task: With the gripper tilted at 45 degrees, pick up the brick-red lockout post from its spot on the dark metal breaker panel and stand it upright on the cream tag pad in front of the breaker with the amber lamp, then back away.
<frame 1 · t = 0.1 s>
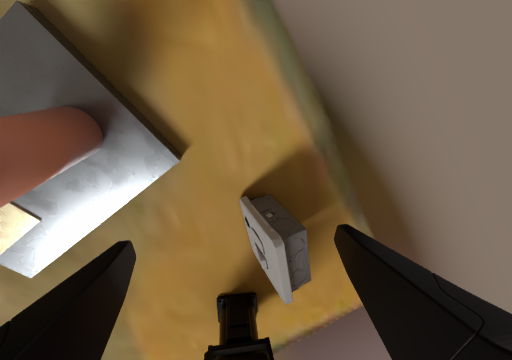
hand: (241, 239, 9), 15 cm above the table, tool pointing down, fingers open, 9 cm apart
electrical switch: (265, 217, 27), on the table
breaker panel: (38, 170, 21), on the table
lockout post: (74, 132, 18), point 1 cm above the table, touching breaker panel
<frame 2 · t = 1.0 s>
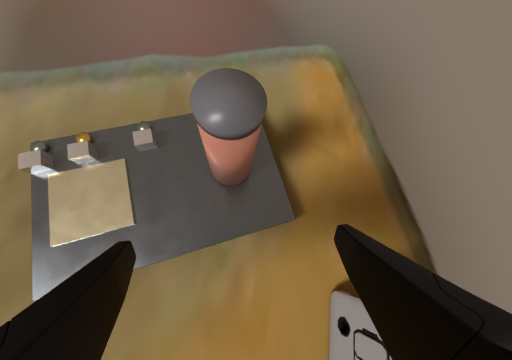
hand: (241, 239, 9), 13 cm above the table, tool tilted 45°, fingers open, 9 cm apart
electrical switch: (353, 340, 20), on the table
breaker panel: (169, 185, 23), on the table
lockout post: (230, 166, 22), point 1 cm above the table, touching breaker panel
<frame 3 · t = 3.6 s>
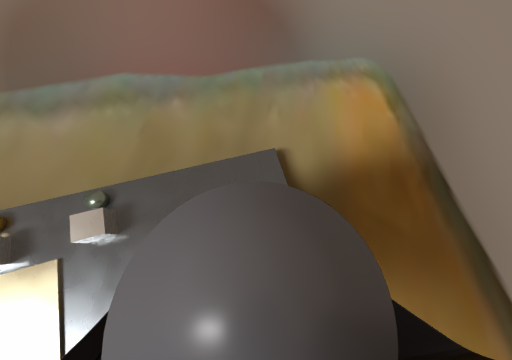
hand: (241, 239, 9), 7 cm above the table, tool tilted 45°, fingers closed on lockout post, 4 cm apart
breaker panel: (137, 294, 14), on the table
lockout post: (239, 263, 14), point 1 cm above the table, touching breaker panel, gripper
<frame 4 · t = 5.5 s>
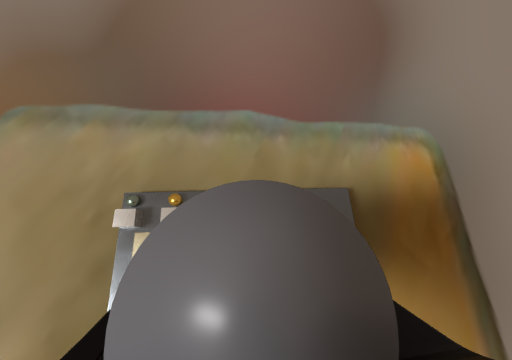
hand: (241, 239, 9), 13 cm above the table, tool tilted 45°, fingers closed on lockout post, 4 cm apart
breaker panel: (245, 263, 21), on the table
lockout post: (239, 263, 14), point 8 cm above the table, touching gripper
when the fingers open (8 cm above the table, at t = 7.7 s): lockout post drops 1 cm, resting on breaker panel.
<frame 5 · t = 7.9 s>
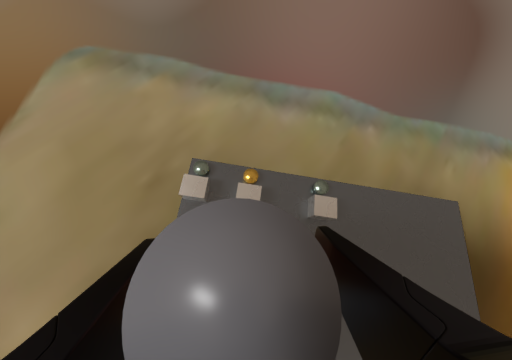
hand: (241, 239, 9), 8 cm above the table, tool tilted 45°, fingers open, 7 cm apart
breaker panel: (321, 271, 17), on the table
lockout post: (238, 262, 15), point 2 cm above the table, touching breaker panel
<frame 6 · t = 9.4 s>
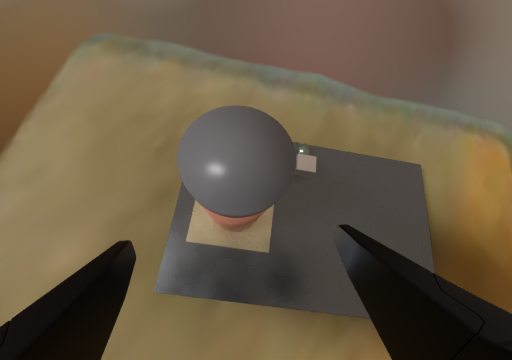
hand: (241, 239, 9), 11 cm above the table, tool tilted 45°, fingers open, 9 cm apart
breaker panel: (303, 219, 20), on the table
lockout post: (234, 206, 18), point 2 cm above the table, touching breaker panel
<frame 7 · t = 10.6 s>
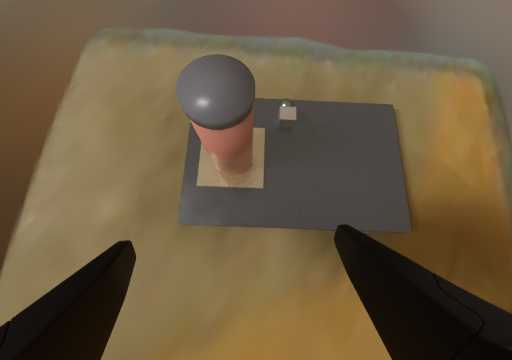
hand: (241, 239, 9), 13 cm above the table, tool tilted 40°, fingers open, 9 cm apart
breaker panel: (292, 163, 24), on the table
lockout post: (232, 155, 22), point 2 cm above the table, touching breaker panel
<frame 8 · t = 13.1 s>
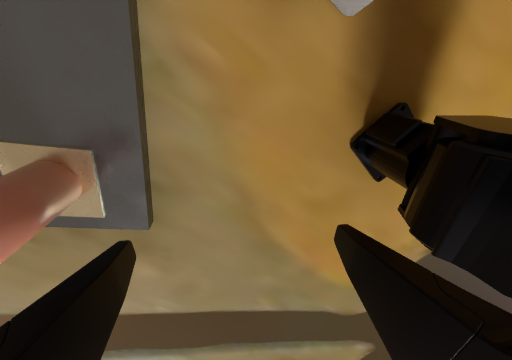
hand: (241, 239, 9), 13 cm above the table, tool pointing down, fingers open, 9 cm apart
breaker panel: (44, 98, 17), on the table
lockout post: (52, 183, 18), point 2 cm above the table, touching breaker panel
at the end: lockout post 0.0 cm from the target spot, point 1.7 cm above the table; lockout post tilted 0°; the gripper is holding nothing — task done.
